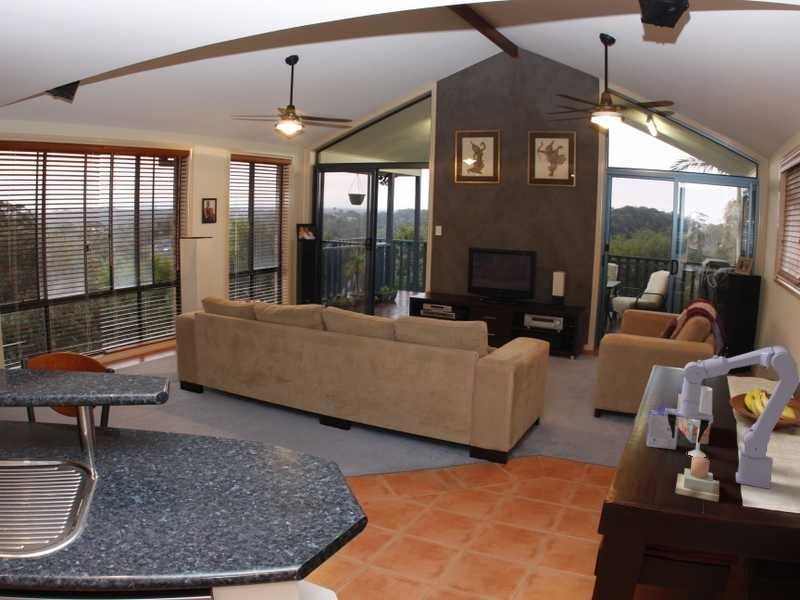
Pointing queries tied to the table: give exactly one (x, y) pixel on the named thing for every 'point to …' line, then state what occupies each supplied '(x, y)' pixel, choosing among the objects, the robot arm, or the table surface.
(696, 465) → the terracotta cylinder
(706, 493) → the birch slab
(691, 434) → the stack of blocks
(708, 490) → the green block
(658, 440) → the ink cartridge box
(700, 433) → the robot arm
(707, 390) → the champagne flute
